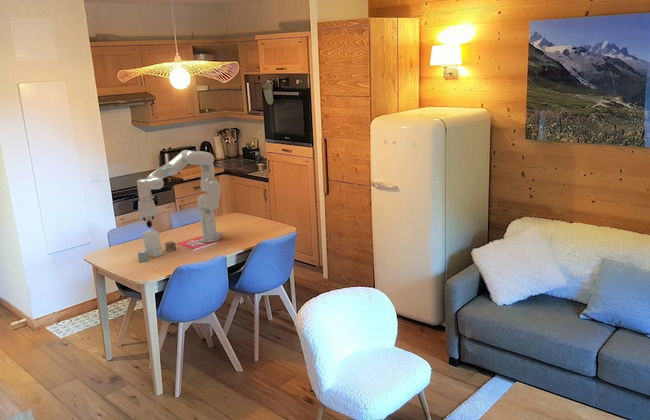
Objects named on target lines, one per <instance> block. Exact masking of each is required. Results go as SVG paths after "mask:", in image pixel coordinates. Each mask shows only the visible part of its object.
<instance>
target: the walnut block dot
mask: <svg viewBox="0 0 650 420" xmlns="http://www.w3.org/2000/svg"><path fill="white" fill-rule="evenodd" d="M164 244H165V245H164V246H165V251H167V252H173V251H177V246H176V244H177V243H176V242H175V241H174V240H171V241H168V242H164Z"/></svg>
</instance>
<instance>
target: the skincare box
mask: <svg viewBox="0 0 650 420" xmlns="http://www.w3.org/2000/svg"><path fill="white" fill-rule="evenodd" d="M142 236H143V237H142V238H143V244H144V250H147V253H148V257H151V258H157V257H159V256H162V255H163V248H162V243H161V237H160V231H159V230H147V231H145V232H143V233H142Z"/></svg>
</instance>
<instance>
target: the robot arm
mask: <svg viewBox="0 0 650 420" xmlns="http://www.w3.org/2000/svg"><path fill="white" fill-rule="evenodd" d="M214 162H215V156H214V155H213V154H212V153H211V152H207V151H201V150H200V151H195V150H188V149H183V150H182V151H180V152H179V153H178V154H177V155H176V156H174V157H173V158H172V159H170V160H169V162H167V163H165V164H163V165H161V166H159V167H158V168H157V169H155V170H153V171H152V172H151V173H150V174H149V175H148V176H147V177H146V178H140V179H138V180H137V181H136V186H137V187H136V188H137V194H138V199H139V201H138V202H137V203H138V204H137V208H138V218H139V220H142V221H145V222H146V227H148V229H151V228H152V226H153V224H152V223H153V222H152V221H153V219H155V218H158V215H157V210H156V204H155V201H154V199H155V195H152V190H153V191H154V190H160V189H162V188H163V187H164V185H165V183H164V180H163V179H165V178H166V177H170V176H174V175H176V174H178V173H179V172H180V171H182V170H183V169H184V168H185V167H186V166H187V165H188V164H189V165H193V166H200V169H201V170H200V171H201V174H200V185H199V187H200V190H201V191H203V192H204V193H202V194H200V195H199V196H198V197H197V199H196V205H197V208H198V211H199V217H200V225H201V233H202V237H201V239H200V241H201V242H202V243H212V242H213V243H214V242H216V241H217V242H218V241H219V240H220V239H221V237H220V236H225V232H221V231H220V232H218V230H217V224H216V223H217V222H216V214H215V210H217V209H218V208H219V205H220V199H221V187H222V186H221V184H220V182H219V181H218V180H217V179H215V175H216V174H215V172H216V170H215V165H214ZM148 218H149V219H148Z"/></svg>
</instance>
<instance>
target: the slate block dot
mask: <svg viewBox="0 0 650 420" xmlns="http://www.w3.org/2000/svg"><path fill="white" fill-rule="evenodd" d="M137 257H138V262H139V263H147V262H148V261H149V256H148V253H147V250H146V249H144V250H143V249H142V250H138V252H137Z"/></svg>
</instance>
